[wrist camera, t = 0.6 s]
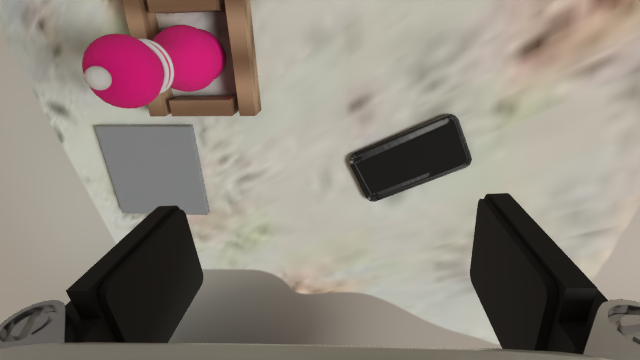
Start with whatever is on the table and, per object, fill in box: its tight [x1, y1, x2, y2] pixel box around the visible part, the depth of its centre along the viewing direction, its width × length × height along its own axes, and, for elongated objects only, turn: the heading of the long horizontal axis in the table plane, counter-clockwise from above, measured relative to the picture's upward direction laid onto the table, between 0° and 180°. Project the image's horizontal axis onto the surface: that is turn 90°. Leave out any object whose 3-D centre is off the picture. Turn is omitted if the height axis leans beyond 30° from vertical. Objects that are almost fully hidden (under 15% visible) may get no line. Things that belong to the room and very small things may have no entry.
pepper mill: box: [82, 25, 225, 108], centre depth 34 cm, size 7×7×20 cm
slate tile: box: [95, 125, 210, 215], centre depth 50 cm, size 14×14×1 cm
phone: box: [350, 114, 472, 201], centre depth 46 cm, size 8×1×15 cm
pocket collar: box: [122, 0, 261, 116], centre depth 41 cm, size 14×14×3 cm
